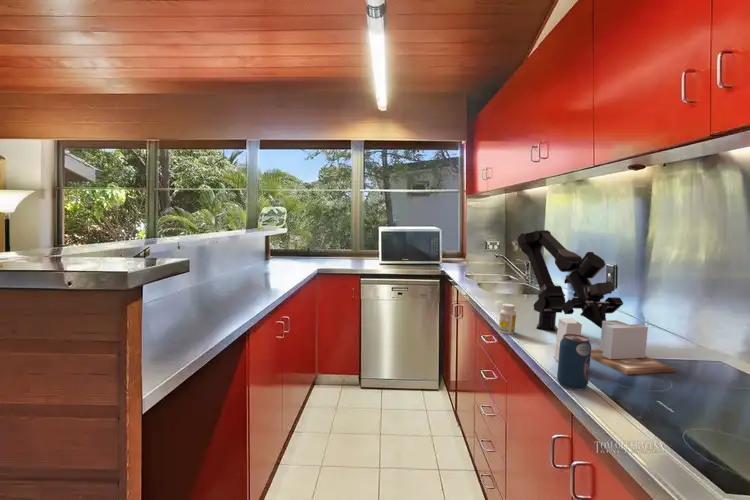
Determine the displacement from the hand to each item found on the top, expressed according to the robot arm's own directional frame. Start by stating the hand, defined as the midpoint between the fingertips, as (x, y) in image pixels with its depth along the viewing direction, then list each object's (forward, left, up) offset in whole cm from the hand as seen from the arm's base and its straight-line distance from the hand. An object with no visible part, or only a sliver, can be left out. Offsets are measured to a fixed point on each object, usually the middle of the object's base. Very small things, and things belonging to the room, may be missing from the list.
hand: (605, 329), depth 137 cm
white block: (+4, +4, -6) cm, 8 cm away
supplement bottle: (-7, -30, -7) cm, 32 cm away
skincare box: (+17, -10, -7) cm, 21 cm away
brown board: (+6, +5, -7) cm, 11 cm away
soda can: (+35, -8, -7) cm, 36 cm away
